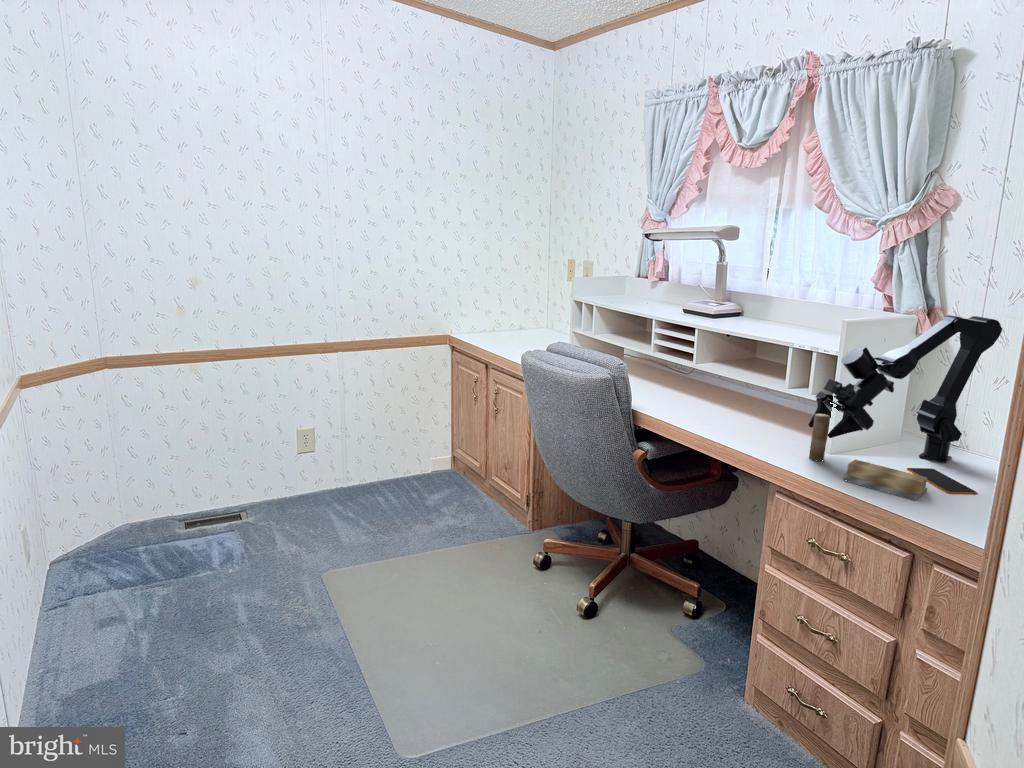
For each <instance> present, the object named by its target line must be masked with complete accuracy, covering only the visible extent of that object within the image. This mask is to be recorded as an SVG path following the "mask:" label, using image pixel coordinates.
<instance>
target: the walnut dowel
mask: <svg viewBox="0 0 1024 768" xmlns="http://www.w3.org/2000/svg"><path fill="white" fill-rule="evenodd" d="M814 414H815V413H814ZM830 419H831V418H830V416H829V415H825V414H815V417H814V425H813V427H812V432H811V441H810V445H809V448H810V449H809V456H808V459H809V458H810V459H812V460H811V461H813V460H817V461H816V462H823V461H822V460H825V454H826V453H825V452H826V446H827V439H828V436H827V435H828V434H829V425H830ZM810 459H809V460H810Z"/></svg>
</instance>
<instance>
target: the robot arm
mask: <svg viewBox="0 0 1024 768" xmlns="http://www.w3.org/2000/svg"><path fill="white" fill-rule="evenodd" d="M1002 331H1003V327H1002V325H1001V323H1000V321H999V320H997V319H993V318H989V317H984V316H983V317H982V316H977V315H974V316H971V317H968V318H965V317H961V316H957V315H950V314H949V315H945V316H943V317H942V318H941V319H940V321H938V322H937V323H935V324H934V325H932V326H931V327H930V328H928V329H927V330H926V331H924V332H923V333H921V334H919V335H918V336H917V337H915V338H914V339H913V340H911V341H910V342H908V343H907V344H906V345H905V344H904V345H902V346H900V347H897V348H893V349H891V350H889V351H887V352H885V353H882V354H881V355H880V356H879V357H873V356H872V354H871V353H870V351H869V348H867V347H866V346H859V348H855V349H852V350H851V351H849V352H846V353H847V354H846V353H845V354H846V355H845V354H844V355H845V356H844V355H843V356H844V357H843V356H841V357H842V358H841V359H840V362H841V363H842V365H843V366H844V367H845V368H846V370H847V371H848V373H849V374H850V376H851V377H852V378H853V379H855V380H858V381H857V382H856V383H855V384H852V383H850V382H848V381H845V382H844V383H842V382H839V381H837V380H834V379H832V378H829V379H828V380H827V381H826V384H825V385H824V387H823V390H825V391H819V392H818V393H817V394H816V395H815V398H816V403H817V406H816V407H817V408H816V410H815V412H814V414H813V415H812V418H811V419H810V421H809V423H808V424H807V425H808V427H809V428H812V429H813V425H814V417H815V414H825V415H829V416H830V419H832V418H831V411H832V407H833V404H830V402H831V403H834V404H836V405H837V406H836V407H834V408H836V409H837V410H838V411H839V412H840V413H843V415H842V419H841V420H840V421H839V422H838V423H837V424H836V425H835V426H833V428H832V429H831V430H830V431H828V433H827V438H829V439H833V438H836V437H838V436H842V435H846V434H849V433H854V432H859V431H861V432H862V431H863V430H865V431H868V430H870V429H871V428H872V427H873V426H874V423H875V421H874V419H873V418H872V417H871V415H870V414H869V413H868V411H867V410H866V409H865V407H866V406H868V407H872V405H874V402H873V400H874V399H875V398H877V397H878V396H879V395H880V394H881V393H882V392H883V391H887V392H889V393H894V391H895V387H894V384H895V382H894V381H892V380H889V379H888V378H887V377H890V378H893V379H896V380H902V379H904V378H906V377H907V376H908V375H909V374H911V372H913V370H915V369H916V367H917V365H918V362H919V361H921V359H923V358H924V357H925V356H927V355H928V354H930V352H932V351H934V350H935V349H937V348H938V347H939V346H941V345H942V344H943V343H945V342H946V341H948V340H949V339H950V338H952V337H953V336H955V335H956V334H957V333H959V343H960V346H959V349H958V351H957V353H956V355H955V357H954V359H953V360H952V363H951V365H950V367H949V369H948V371H947V373H946V375H945V376H944V379H943V381H942V382H941V384H940V387H939V389H938V390H937V392H936V394H935V396H934V397H932V398H931V399H929V400H928V399H923V401H921V405H920V407H919V409H918V410H917V411H916V414H917V416H916V421H917V423H918V425H919V430H920V432H921V433H924V434H926V437H925V443H924V448H923V452H921V453H920V454H919V455H918V457H919V458H921V459H926V460H929V461H930V460H931V461H935V462H939V463H943V464H947V463H948V462H949V461H951V459H952V458H953V456H950V455H949V453H950V447H951V444H952V443H954V442H959V440H960V438H961V437H962V432H961V431H960V429H959V428H958V427H957V425H956V424H955V421H956V419H957V417H958V416H957V415H958V414H957V403H958V400H959V398H960V397H961V395H962V393H963V390H964V389H965V386H966V384H967V383H968V381H969V379H970V377H971V375H972V373H973V370H975V367H976V366H977V365H976V364H977V363H978V361H979V360H980V358H981V355H982V354H983V353H985V352H986V351H987V350H988V349H990V348H992V346H994V344H995V343H996V341H997V340H998V339H999V337H1000V336H1001V334H1002ZM886 376H887V377H886ZM826 391H827V392H826ZM829 392H830V393H829ZM831 393H832V394H831ZM833 397H834V398H835V399H836V400H837V402H838V403H837V402H835V401H833Z"/></svg>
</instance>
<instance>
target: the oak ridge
mask: <svg viewBox="0 0 1024 768" xmlns="http://www.w3.org/2000/svg"><path fill="white" fill-rule="evenodd" d="M843 480H847V481H850V482H853V483H852V484H854V483H856V484H855V485H858V484H860V485H859V486H861V485H863V486H862V487H865V486H867V487H866V488H869V487H870V488H869V489H872V488H874V489H873V490H876V489H878V490H877V491H879V490H882V491H881V492H883V491H885V492H884V493H887V492H889V493H888V494H890V493H893V494H892V495H894V494H896V495H895V496H898V495H899V497H901V496H903V497H902V498H905V497H906V498H905V499H909V500H912V501H913V500H914V501H918V500H919V499H920V498H921V497H922V496H924V495H925V494H926V493H927V492H928V487H927V483H928V482H927V477H923V476H919V475H915V474H913V473H911V472H906V471H902V470H898V469H894V468H890V467H887V466H882V465H879V464H874V463H870V462H867V461H863V460H859V459H854V460H852V461H850V462H848V465H847V470H846V475H844V476H843ZM843 480H842V481H843ZM847 481H846V482H847ZM850 482H849V483H850Z"/></svg>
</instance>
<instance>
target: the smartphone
mask: <svg viewBox="0 0 1024 768" xmlns="http://www.w3.org/2000/svg"><path fill="white" fill-rule="evenodd" d="M905 469H907V470H906V471H908V472H909V473H911V472H912V473H911V474H915V475H919V476H923V477H927V483H928V484H930V485H932V486H933V487H935V488H937V489H938V490H941V491H943V493H945V494H948V495H978V494H979V493H978V492H977V491H976V490H974V489H972V488H970V487H968V486H966V485H965V484H963V483H961V482H959V481H957V480H956V479H953V478H951V477H950V476H948V475H946V474H944V473H943V472H941V471H939V470H937V469H936V468H929V467H928V468H927V467H926V468H925V467H923V468H922V467H906V468H905Z"/></svg>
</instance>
